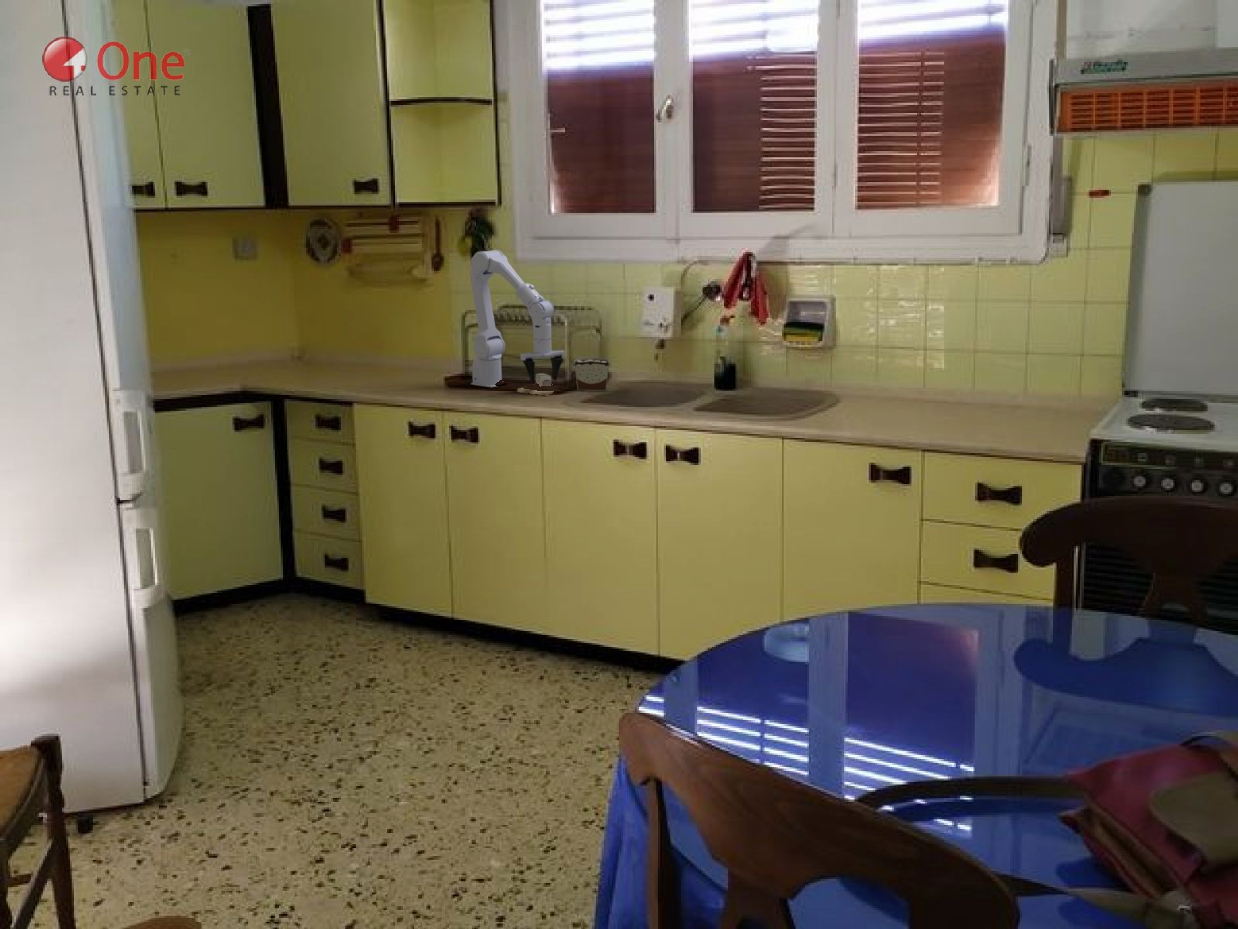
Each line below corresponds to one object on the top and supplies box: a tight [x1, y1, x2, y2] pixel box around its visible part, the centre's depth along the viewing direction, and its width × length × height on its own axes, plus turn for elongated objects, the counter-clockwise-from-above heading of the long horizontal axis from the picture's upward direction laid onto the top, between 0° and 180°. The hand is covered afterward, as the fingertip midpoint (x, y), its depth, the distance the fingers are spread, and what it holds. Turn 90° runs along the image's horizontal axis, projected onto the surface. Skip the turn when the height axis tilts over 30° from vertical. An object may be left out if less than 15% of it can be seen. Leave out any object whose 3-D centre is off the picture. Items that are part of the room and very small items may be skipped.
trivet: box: [517, 387, 554, 397], centre depth 380 cm, size 12×12×1 cm
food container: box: [572, 356, 611, 392], centre depth 382 cm, size 12×6×10 cm, turn 84°
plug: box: [535, 373, 552, 387], centre depth 379 cm, size 8×4×4 cm, turn 24°
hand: (543, 380), depth 379 cm, fingers open, 7 cm apart
